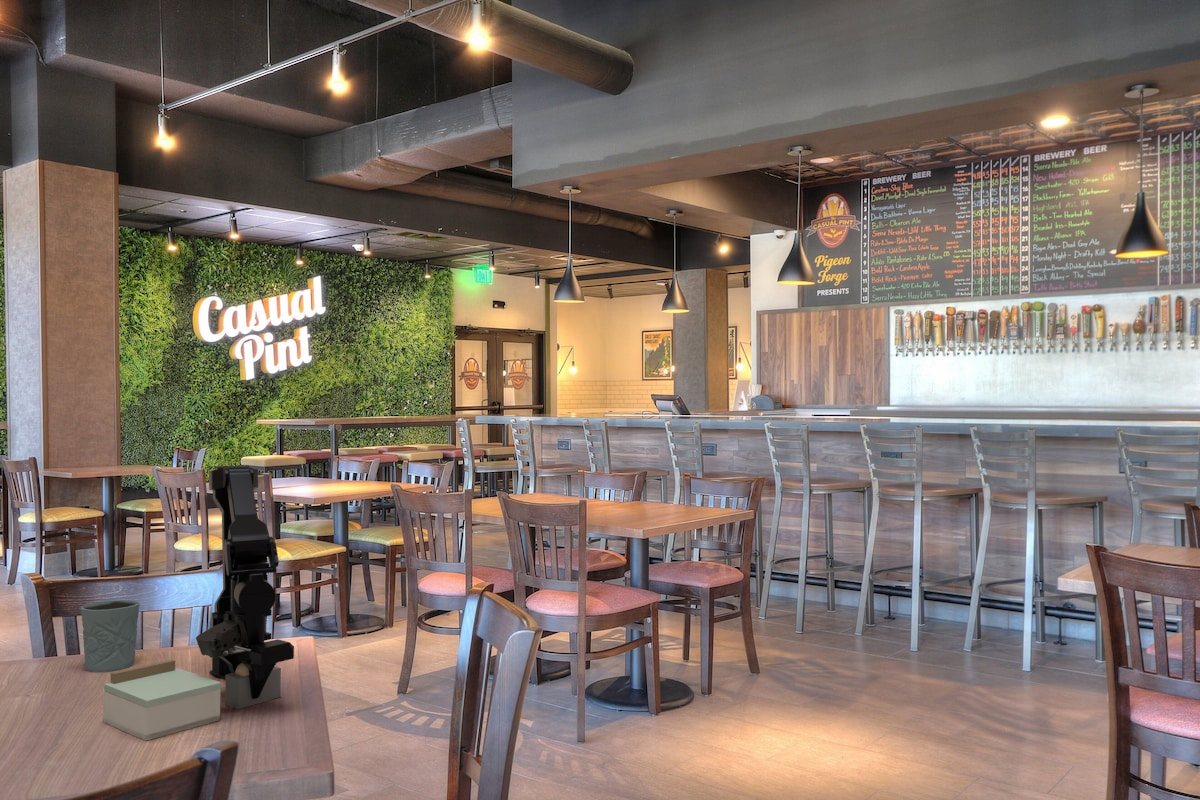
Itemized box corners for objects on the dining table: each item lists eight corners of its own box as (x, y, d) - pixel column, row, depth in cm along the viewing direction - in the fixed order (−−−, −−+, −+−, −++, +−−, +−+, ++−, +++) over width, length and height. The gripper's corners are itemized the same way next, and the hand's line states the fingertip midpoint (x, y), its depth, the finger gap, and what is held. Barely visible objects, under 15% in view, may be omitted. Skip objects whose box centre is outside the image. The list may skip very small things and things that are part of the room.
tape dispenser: (267, 692, 164) (267, 655, 164) (280, 697, 161) (280, 659, 162) (225, 704, 158) (225, 665, 158) (238, 708, 155) (238, 669, 155)
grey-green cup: (79, 675, 175) (80, 611, 175) (81, 662, 184) (81, 602, 184) (139, 668, 179) (140, 606, 179) (138, 656, 188) (139, 597, 188)
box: (175, 703, 158) (176, 673, 158) (220, 720, 149) (220, 688, 149) (102, 721, 149) (103, 690, 149) (145, 741, 140) (145, 707, 140)
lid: (177, 673, 158) (177, 658, 158) (221, 688, 149) (221, 672, 149) (104, 690, 148) (104, 674, 148) (146, 707, 140) (147, 690, 140)
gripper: (175, 605, 158) (174, 697, 158) (235, 620, 147) (234, 719, 147) (235, 595, 167) (234, 682, 167) (296, 608, 156) (295, 702, 155)
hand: (248, 695), depth 159 cm, fingers closed on tape dispenser, 4 cm apart
